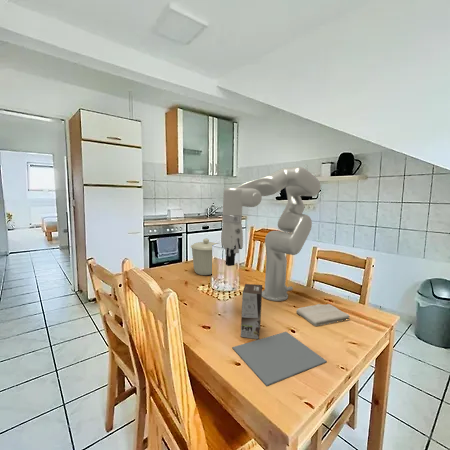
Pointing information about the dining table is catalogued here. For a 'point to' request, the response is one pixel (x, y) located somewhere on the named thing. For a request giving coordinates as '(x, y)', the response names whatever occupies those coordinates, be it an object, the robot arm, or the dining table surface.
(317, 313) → the washcloth
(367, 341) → the dining table surface
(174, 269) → the dining table surface
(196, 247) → the canister
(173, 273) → the dining table surface
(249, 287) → the coffee box
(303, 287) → the dining table surface
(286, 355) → the mat
